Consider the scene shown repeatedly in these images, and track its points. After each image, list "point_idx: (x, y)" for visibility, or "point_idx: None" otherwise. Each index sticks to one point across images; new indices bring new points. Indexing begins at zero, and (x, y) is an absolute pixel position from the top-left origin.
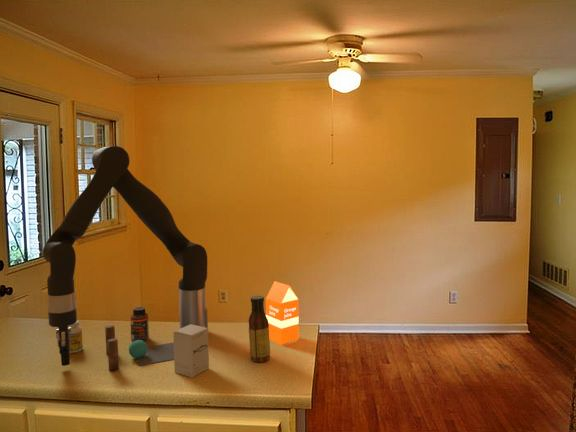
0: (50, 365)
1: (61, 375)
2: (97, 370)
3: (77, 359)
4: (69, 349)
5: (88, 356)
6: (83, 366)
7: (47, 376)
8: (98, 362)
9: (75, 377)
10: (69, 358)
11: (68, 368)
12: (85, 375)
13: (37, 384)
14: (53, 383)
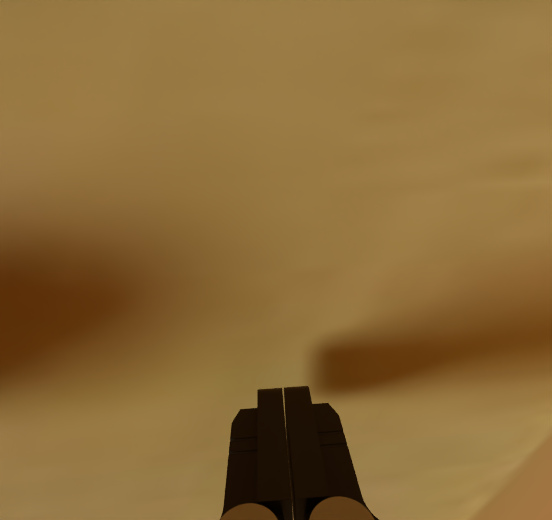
0: (149, 490)
1: (395, 399)
2: (448, 96)
3: (68, 308)
4: (242, 518)
5: (5, 207)
6: (275, 243)
7: (364, 481)
8: (222, 88)
9: (500, 295)
10: (297, 424)
11: (269, 364)
12: (507, 214)
13: (471, 515)
14: (517, 432)
